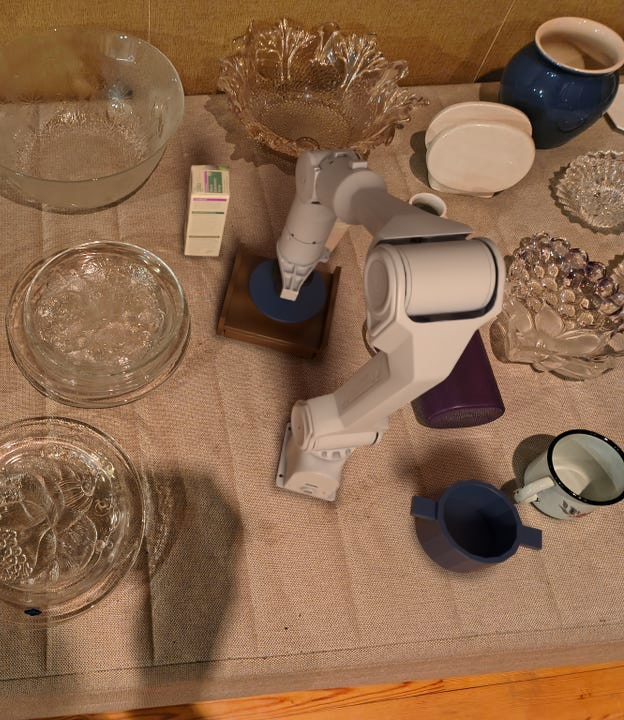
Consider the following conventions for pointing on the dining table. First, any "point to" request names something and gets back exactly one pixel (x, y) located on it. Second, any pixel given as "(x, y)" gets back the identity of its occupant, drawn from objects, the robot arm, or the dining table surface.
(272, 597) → the dining table surface
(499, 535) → the pot
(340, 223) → the smoothie
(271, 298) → the lid
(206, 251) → the syrup box
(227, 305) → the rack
